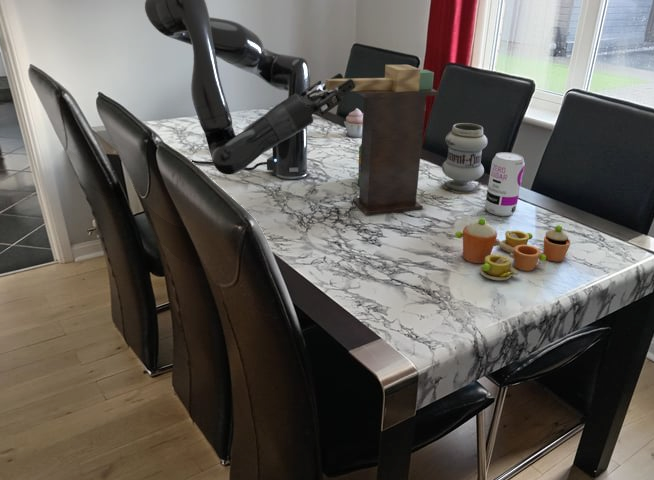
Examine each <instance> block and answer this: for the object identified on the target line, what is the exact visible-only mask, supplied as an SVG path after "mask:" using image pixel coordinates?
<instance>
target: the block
mask: <svg viewBox="0 0 654 480" xmlns="http://www.w3.org/2000/svg"><path fill="white" fill-rule="evenodd" d="M434 75H435V72H433V71H431V70H429V69H421V72H420V83H419V90H432V89H433V86H434V85H433V84H434Z"/></svg>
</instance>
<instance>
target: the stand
mask: <svg viewBox="0 0 654 480" xmlns="http://www.w3.org/2000/svg"><path fill="white" fill-rule="evenodd" d="M353 92H354V93H356V94H358V95H360V96H362V97H363V108H362V113H363V126H362V137H361V144H362V147H361V168H360V186H359V191H358V192H359V193H358V197H353V198H352V203H353V204H355V206H356V207H357V208H358V209H359V210H360V211H362V213H363V214H365V215H366V216H374V215H382V214H393V213H400V212H401V213H402V212H410V211H419V210H420V211H421V210H423V205H422V204H421V203H420V202H418V201H417V195H418V194H417V193H418V185H419V184H418V183H419V174H420V166H421V165H420V164H421V155H422V145H423V133H424V123H425V114H426V105H427V97H429V96H430V97H435V96H438V94H439V91H438V90H435V89H434V88H432V90H419V91H413V92H395V91H393V90H374V91H353Z"/></svg>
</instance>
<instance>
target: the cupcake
mask: <svg viewBox="0 0 654 480" xmlns="http://www.w3.org/2000/svg"><path fill="white" fill-rule="evenodd" d="M343 123H344V126H345V128H346V135H347V136H348V137H349V138H350V137H351V138H362V126H363V112H362V111H361V110H360V109H359V108H357V107H355V109H354V110H353V111H351V112H349V113H348V115H347V116H346V117H345V120H344V121H343Z"/></svg>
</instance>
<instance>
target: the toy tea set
mask: <svg viewBox="0 0 654 480" xmlns="http://www.w3.org/2000/svg"><path fill="white" fill-rule="evenodd" d="M504 235H505V236H504V237H505V239H503V240H501V241H500V238H497V237H498V232H497V230H496V229H494V227H493V226H492V225H491V224H489V223H487V222H486V219H485V218H484V217H481V218H479V219H478V221H475V222H472V223H469V224H468V225H465V226H464V228H463V229H462V231H457V232H455V237H456V238H457V239H461V238H462V257H463V259H464V260H466V261H467V262H470V263H472V264H483V265H481V266H480V268H479V273H480V274H481V275H482V276H483V277H484V278H486V279H489V280H493V281H506V280H508V279H510V278H511V277H512V276H518V274H519V271H518V270H520V271H524V272H530V271H533V270H534V269H535V268H536V266H537V264H538V262H539V261H541V262H545V261H546V260H547V261H551V262H556V263H557V262H558V263H559V262H562V261H564V260H565V258H566V256H567V253H568V250H569V249H570V246H571V244H572V242H571V240H570V239H569V235H568V234H567V233H566V232H565V231H563V227H562V225H559V224H558V225H556V226H555V228H553V229H550V230H547V231H545V236H544V237H543V252H542V251H541V250H540V249H539V248H538V247H536V246H534V245H530V244H528V242H529V241H530V240H531V239H533V237H534V236H533V233H531V232H524V231H521V230H506V231H505V234H504ZM497 246H499V247H500V248H501V249H502V250H503V251H504V252H507V253H509V255H508V256H509V257H510V258H512V259H513V262H512V261H511V259H510V258H509V257H507V256H504V255H500V254H492V251H493V248H494V247H497ZM541 252H542V253H541ZM513 265H514V267H515V268H513V267H512V266H513ZM517 269H518V270H517Z"/></svg>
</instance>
